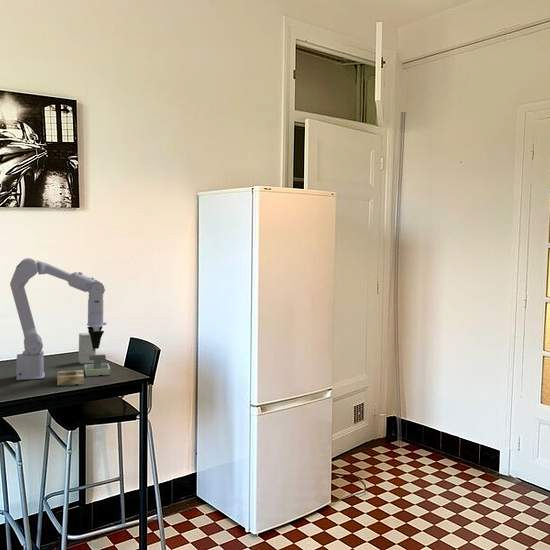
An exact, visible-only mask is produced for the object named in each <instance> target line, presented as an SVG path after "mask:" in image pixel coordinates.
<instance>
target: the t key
mask: <svg viewBox="0 0 550 550" xmlns="http://www.w3.org/2000/svg"><path fill="white" fill-rule="evenodd" d="M106 357H107V356H106V354H104V353H103V354H95V355H89V360H94V363H93V364H94V369H101V364H102V360H103V361H104V360H107V358H106Z"/></svg>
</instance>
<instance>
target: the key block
mask: <svg viewBox="0 0 550 550" xmlns="http://www.w3.org/2000/svg"><path fill="white" fill-rule="evenodd" d="M56 374H57V375H56V376H57V377H56V379H57V380H56V381H57V385H56V386H57V387H58V385H61V386H75V384H78V385H84V384H85V375H84V374H85V372H84V370H83V369H81V370H80V369H79V370H78V369H77V370H61V371H60V370H59V371H57V373H56Z"/></svg>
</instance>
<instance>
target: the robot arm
mask: <svg viewBox="0 0 550 550" xmlns="http://www.w3.org/2000/svg"><path fill="white" fill-rule="evenodd" d="M37 274H38V275H49V276H53V277H54V278H58V279H60V280H63V281H66V282H67V284H68V286H69V287H72V288H73V289H77V290H79V291H82V292H84V293H88V299H87V324H86V326H87V327H86V328H87V329H88V331H87V333H89V334H90V337H91V342H92V347H93V349H96V350H99V348H100V345H101V340H102V336H103V334H104V332H105V331H104V330H102V329H103V326H106V325H107V322H104V294H105V291H106V289H105V286H104V284H103V283H102V282H100V281H99V280H98V279H95V278H94V277H89V276H87V275H85V274H83V272H81V271H78V272H77V271H75V272H72V273H70V272H67V271H65V270H63V269H60V268H58V267H56V266H54V265H51V264H49V263H47V262H43V261H40V260H34V259H32V258H30V257H29V258H28V257H27V258H24V259H22V260H21V261H20V262H19V263H18V264H17V266H16V267H15V270H14V272H13V275H12V277H11V280H10V281H9V282H10V283H9V286H10V289H11V293H12V297H13V301H14V303H15V308H16V311H17V312H16V313H17V315H18V319H19V322H20V326H21V330H22V333H23V337H24V339H23V346H24V351H22V353H19V354H16V369H15V375H16V381H23V380H24V381H25V380H26V381H27V380H38V379H39V380H41V379H45V377H46V372H45V371H44V365H45V364H44V363H45V362H44V358H45V357H44V354H45V353H44V350H43V347H44V343H43V340H42V337H41V336H40V335H39V334H38V332H37V328H36V325H35V322H34V317H33V315H32V314H33V313H32V311H31V307H30V303H29V300H28V295H27V291H26V288H25V286H26V285H27V283H28V282H29V280H30V279H32V278H33V277H34V276H36V275H37Z"/></svg>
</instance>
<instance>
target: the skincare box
mask: <svg viewBox="0 0 550 550" xmlns="http://www.w3.org/2000/svg"><path fill="white" fill-rule="evenodd" d="M96 350H97V349H93V347H92V342H91V337H90V334H89V332H85V333H84V332H83V333H82V332H80V333H78V363H79V364H80V365H83V364H84V365H86V364H94V360H89V355H97V354H96Z"/></svg>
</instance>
